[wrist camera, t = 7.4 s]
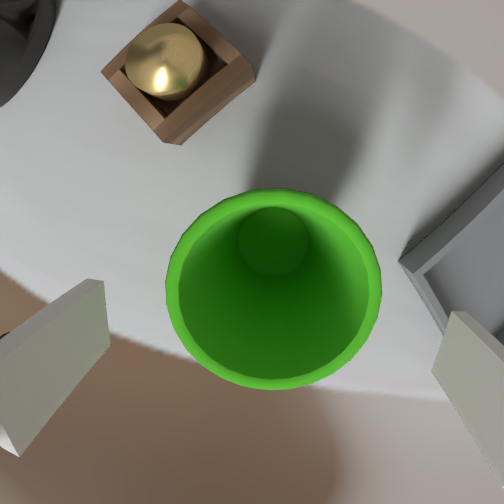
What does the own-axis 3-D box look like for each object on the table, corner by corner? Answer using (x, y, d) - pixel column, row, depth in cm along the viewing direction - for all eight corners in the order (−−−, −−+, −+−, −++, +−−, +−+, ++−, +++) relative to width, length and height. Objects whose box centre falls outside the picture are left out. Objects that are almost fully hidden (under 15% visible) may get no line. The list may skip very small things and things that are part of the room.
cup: (324, 166, 22) (371, 171, 11) (341, 287, 24) (384, 372, 14) (198, 190, 23) (139, 214, 12) (225, 306, 25) (196, 400, 14)
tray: (398, 261, 23) (412, 273, 20) (508, 157, 20) (530, 159, 17) (460, 366, 26) (473, 383, 23) (550, 275, 23) (568, 285, 20)
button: (131, 72, 18) (111, 61, 15) (181, 28, 17) (168, 10, 14) (170, 115, 19) (154, 107, 16) (223, 69, 18) (215, 54, 15)
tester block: (125, 83, 21) (100, 71, 17) (193, 21, 19) (180, -1, 15) (180, 145, 22) (163, 142, 18) (255, 81, 20) (252, 64, 17)
